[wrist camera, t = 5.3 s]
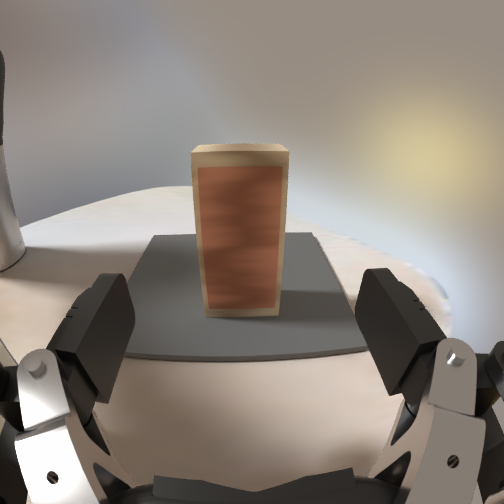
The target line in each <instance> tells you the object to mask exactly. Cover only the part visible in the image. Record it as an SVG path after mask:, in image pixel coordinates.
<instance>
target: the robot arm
mask: <svg viewBox="0 0 504 504" xmlns="http://www.w3.org/2000/svg"><path fill="white" fill-rule="evenodd" d="M4 82H5V64H4V58H3V55H2V53H1V51H0V271H2V270H4V269H6V268H8V267H9V266H11V265H13V264H14V263H15V262H17V261H18V260H19V259H20V258H21V257H22V256H23V254H24V253H25V251H26V247H25V244H24V241H23V238H22V235H21V231H20V228H19V224H18V220H17V217H16V213H15V209H14V205H13V200H12V196H11V191H10V186H9V181H8V176H7V170H6V164H5V157H4V149H3V139H2V133H3V98H4ZM355 318H356V322H357V324H358V326H359V328H360V331H361V333H362V335H363V337H364V339H365V341H366V344H367V346H368V348H369V350H370V352H371V355H372V357H373V359H374V361H375V364H376V366H377V368H378V371H379V373H380V375H381V378H382V380H383V382H384V385H385V387H386V390H387V392H388V394H389V396H392V395H395V394H399V393H402V394H403V396H404V399H403V400H402V402H401V404H400V407H399V410H398V413H397V416H396V419H395V422H394V425H393V427H392V430H391V433H390V435H389V438H388V440H387V443H386V445H385V448H384V450H383V452H382V454H381V455H380V457H379V458H378V459H377V461H376V462H375V464H374V465H373V467H372V469H371V470H370V472H369V474H368V476H367V477H362V476H354V474H353V470H352V468H348V469H344V470H339V471H334V472H329V473H323V474H318V475H311V476H305V477H303V478H300V479H297V480H294V481H291V482H288V483H285V484H282V485H279V486H276V487H273V488H269V489H266V490H262V491H258V492H249V491H244V490H239V489H234V488H230V487H225V486H221V485H217V484H213V483H209V482H206V481H202V480H188V479H178V478H169V477H162V476H155V475H154V483H153V484H148V485H142V486H138V487H137V486H136V484H135V482H134V481H133V479H132V478H131V476H130V475H129V474H128V472H127V471H126V470H125V469H124V467H123V466H122V465H121V464H120V462H119V461H118V459H117V458H116V456H115V454H114V452H113V450H112V448H111V446H110V444H109V442H108V440H107V438H106V436H105V433H104V431H103V429H102V427H101V425H100V422H99V420H98V418H97V415H96V413H95V411H94V410H93V407H94V404H95V401H96V402H101V403H106V404H108V403H109V399H110V396H111V393H112V390H113V387H114V383H115V380H116V377H117V374H118V371H119V368H120V365H121V362H122V360H123V357H124V354H125V351H126V348H127V346H128V343H129V340H130V337H131V335H132V332H133V329H134V326H135V310H134V307H133V304H132V300H131V297H130V293H129V290H128V286H127V283H126V279H125V277H124V275H123V274H107V273H102V274H100V275H99V277H98V278H97V280H96V281H95V283H94V284H93V286H92V287H91V288H88V289H87V290H85V291H84V292H83V293H82V294H81V295H79V296H78V297H77V299H76V300H75V302H74V303H73V305H72V306H71V309H69V311H68V313H67V314H66V318H64V319H63V321H62V322H61V324H60V325H59V327H58V329H57V330H56V332H55V334H54V335H53V337H52V339H51V341H50V342H49V344H48V346H47V348H46V349H37V350H34V351H32V352H30V353H28V354H27V355H26V356H25V357H24V358H23V359H22V360H21V362H20V364H19V365H18V366H6V367H4V366H3V365H2V363H1V362H0V415H1V416H2V417H3V418H4V419H5V422H4V425H3V428H2V431H1V434H0V504H26V501H27V494H28V493H29V495H30V498H31V501H32V504H471V501H472V497H473V494H474V490H475V486H476V482H478V485H479V489H480V493H481V497H482V501H483V504H504V434H503V431H502V429H501V426H500V424H499V422H498V420H497V417H496V415H495V413H494V411H493V409H492V405H493V404H494V403H495V402H496V401H497V400H498V398H499V397H502V399H503V401H504V341H500V342H498V343H497V344H496V345H495V346H494V348H493V350H492V351H491V352H490V354H477V353H476V354H475V353H474V351H473V350H472V348H471V347H470V346H469V345H468V344H466V343H465V342H463V341H461V340H459V339H455V338H447V337H446V336H445V334H444V333H443V331H442V330H441V329H440V327H439V326H438V324H437V323H436V321H435V320H434V319H433V317H432V316H431V314H430V313H429V312H428V310H425V306H424V305H423V304H422V302H419V298H418V297H417V296H416V294H415V293H414V292H413V291H412V289H410V288H409V287H407V286H406V285H405V284H403V283H402V282H399V281H398V280H397V279H396V277H395V276H394V275H393V274H392V272H391V271H390V270H389V269H388V268H376V269H367V270H365V272H364V274H363V278H362V282H361V286H360V290H359V294H358V298H357V302H356V306H355Z"/></svg>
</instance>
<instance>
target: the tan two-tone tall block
mask: <svg viewBox="0 0 504 504" xmlns="http://www.w3.org/2000/svg"><path fill="white" fill-rule="evenodd" d="M288 167H289V151H288V150H287V149H286V148H284V147H283V146H282V145H281V144H214V145H213V144H212V145H198V146H197V147H196V148H195V149H194V150H193V151H192V152H191V170H192V186H193V201H194V214H195V226H196V238H197V248H198V259H199V268H200V277H201V286H202V295H203V303H204V311H205V317H252V316H279V306H280V294H281V281H282V268H283V255H284V240H285V224H286V207H287V189H288Z"/></svg>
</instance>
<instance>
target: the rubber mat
mask: <svg viewBox="0 0 504 504" xmlns="http://www.w3.org/2000/svg"><path fill="white" fill-rule="evenodd" d="M127 286H128V290H129V293H130V297H131V300H132V304H133V307H134V310H135V326H134V329H133V332H132V335H131V337H130V340H129V343H128V346H127V348H126V351H125V354H124V357H134V358H145V359H160V360H179V361H261V360H281V359H295V358H307V357H318V356H327V355H336V354H344V353H352V352H359V351H366V349H367V347H368V346H367V344H366V341H365V339H364V337H363V335H362V333H361V331H360V328H359V326H358V324H357V322H356V318H355V316H354V314H353V312H352V310H351V308H350V306H349V304H348V302H347V299H346V297H345V295H344V293H343V291H342V289H341V287H340V285H339V283H338V281H337V279H336V278H335V276H334V274H333V272H332V270H331V268H330V266H329V264H328V262H327V260H326V258H325V256H324V254H323V253H322V251H321V249H320V247H319V245H318V243H317V241H316V240H315V238H314V236H313V234H312V232H310V233H285V240H284V255H283V268H282V281H281V294H280V306H279V316H252V317H205V311H204V303H203V295H202V286H201V277H200V268H199V259H198V248H197V238H196V234H183V235H154V236H153V238H152V239H151V241H150V243H149V245H148V246H147V248H146V250H145V252H144V254H143V255H142V257H141V259H140V261H139V263H138V264H137V266H136V268H135V270H134V272H133V274H132V276H131V277H130V279H129V281H128V283H127Z"/></svg>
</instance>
